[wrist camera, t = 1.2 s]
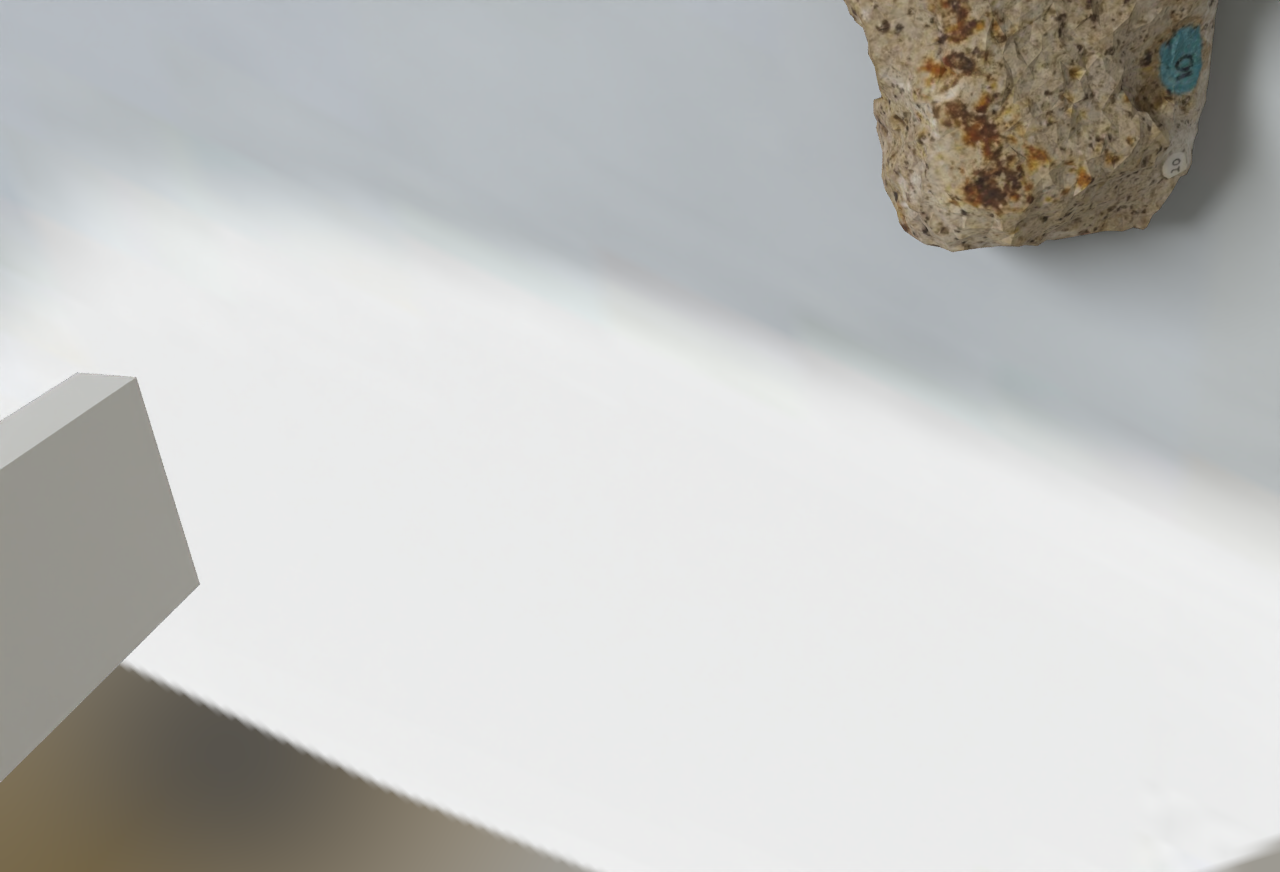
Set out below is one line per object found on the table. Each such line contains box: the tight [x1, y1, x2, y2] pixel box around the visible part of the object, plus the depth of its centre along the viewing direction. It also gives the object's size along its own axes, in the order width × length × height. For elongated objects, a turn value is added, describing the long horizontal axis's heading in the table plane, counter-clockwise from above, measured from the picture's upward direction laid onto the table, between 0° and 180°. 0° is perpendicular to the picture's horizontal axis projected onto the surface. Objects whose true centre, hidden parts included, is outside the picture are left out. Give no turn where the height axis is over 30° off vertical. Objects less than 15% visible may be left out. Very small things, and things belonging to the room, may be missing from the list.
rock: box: [844, 0, 1218, 252], centre depth 24 cm, size 8×11×4 cm
